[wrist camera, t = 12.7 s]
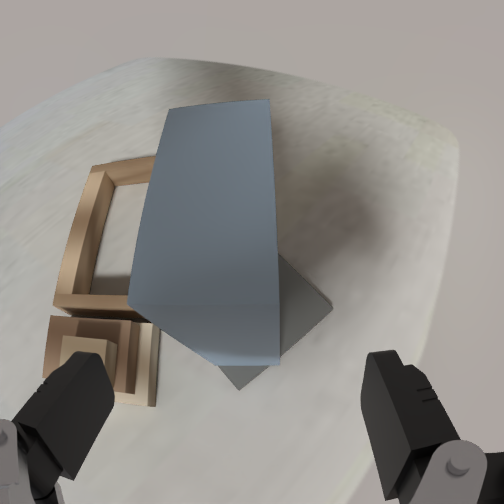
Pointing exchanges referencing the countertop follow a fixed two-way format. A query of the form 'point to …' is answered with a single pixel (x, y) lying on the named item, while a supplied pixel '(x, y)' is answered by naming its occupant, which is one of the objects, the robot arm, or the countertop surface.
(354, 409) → the countertop surface
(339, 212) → the countertop surface
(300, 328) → the pad
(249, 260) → the blue-grey rectangular block
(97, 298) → the rack
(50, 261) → the countertop surface
